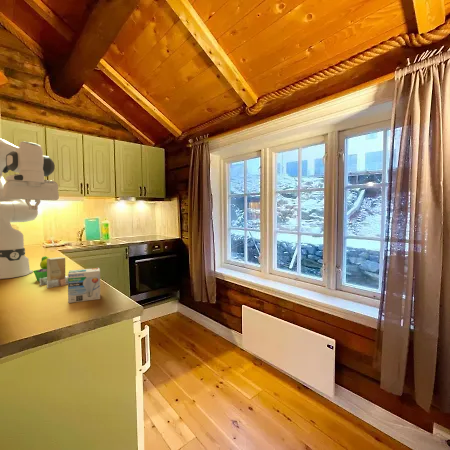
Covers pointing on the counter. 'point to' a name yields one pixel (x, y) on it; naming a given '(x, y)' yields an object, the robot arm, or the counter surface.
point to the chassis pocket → (54, 282)
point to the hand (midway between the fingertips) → (33, 209)
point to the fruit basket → (42, 272)
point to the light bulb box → (83, 285)
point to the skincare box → (55, 268)
